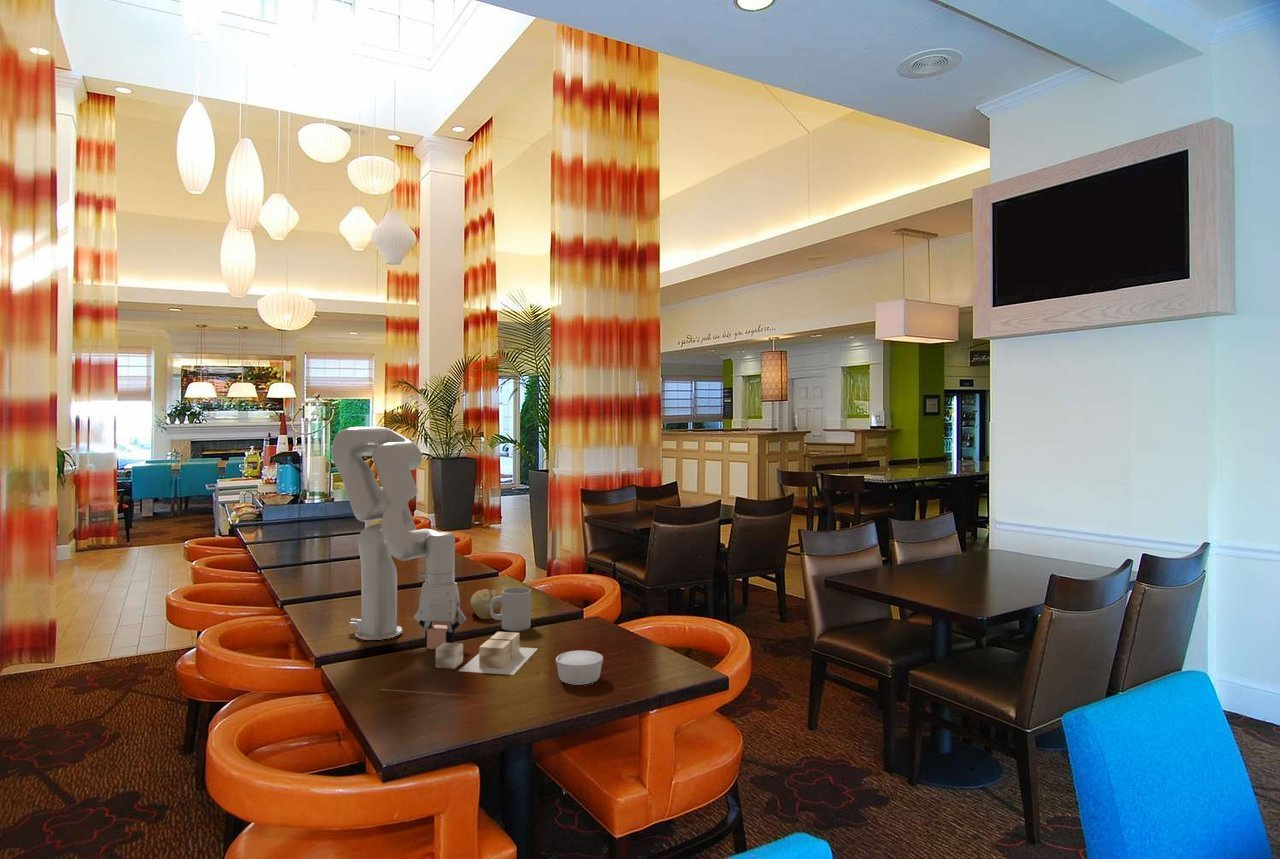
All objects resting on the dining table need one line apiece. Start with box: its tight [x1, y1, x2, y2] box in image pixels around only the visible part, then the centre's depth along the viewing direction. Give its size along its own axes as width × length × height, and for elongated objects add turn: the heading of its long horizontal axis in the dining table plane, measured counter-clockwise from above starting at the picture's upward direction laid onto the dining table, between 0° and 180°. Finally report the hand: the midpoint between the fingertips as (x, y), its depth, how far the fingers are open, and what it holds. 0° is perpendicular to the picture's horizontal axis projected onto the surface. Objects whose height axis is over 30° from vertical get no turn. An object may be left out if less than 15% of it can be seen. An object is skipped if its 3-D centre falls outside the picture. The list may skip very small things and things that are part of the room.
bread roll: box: [469, 588, 502, 620], centre depth 222 cm, size 10×15×8 cm, turn 25°
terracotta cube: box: [426, 624, 448, 650], centre depth 191 cm, size 5×5×5 cm
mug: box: [490, 586, 532, 632], centre depth 208 cm, size 12×8×11 cm
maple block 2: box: [489, 631, 521, 659], centre depth 183 cm, size 6×6×5 cm
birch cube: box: [435, 642, 464, 670], centre depth 175 cm, size 5×5×5 cm
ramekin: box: [555, 649, 604, 686], centre depth 167 cm, size 11×11×5 cm
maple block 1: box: [478, 639, 511, 669], centre depth 176 cm, size 6×6×5 cm
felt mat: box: [458, 646, 539, 676], centre depth 180 cm, size 14×20×1 cm
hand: (439, 644), depth 191 cm, fingers closed on terracotta cube, 5 cm apart
